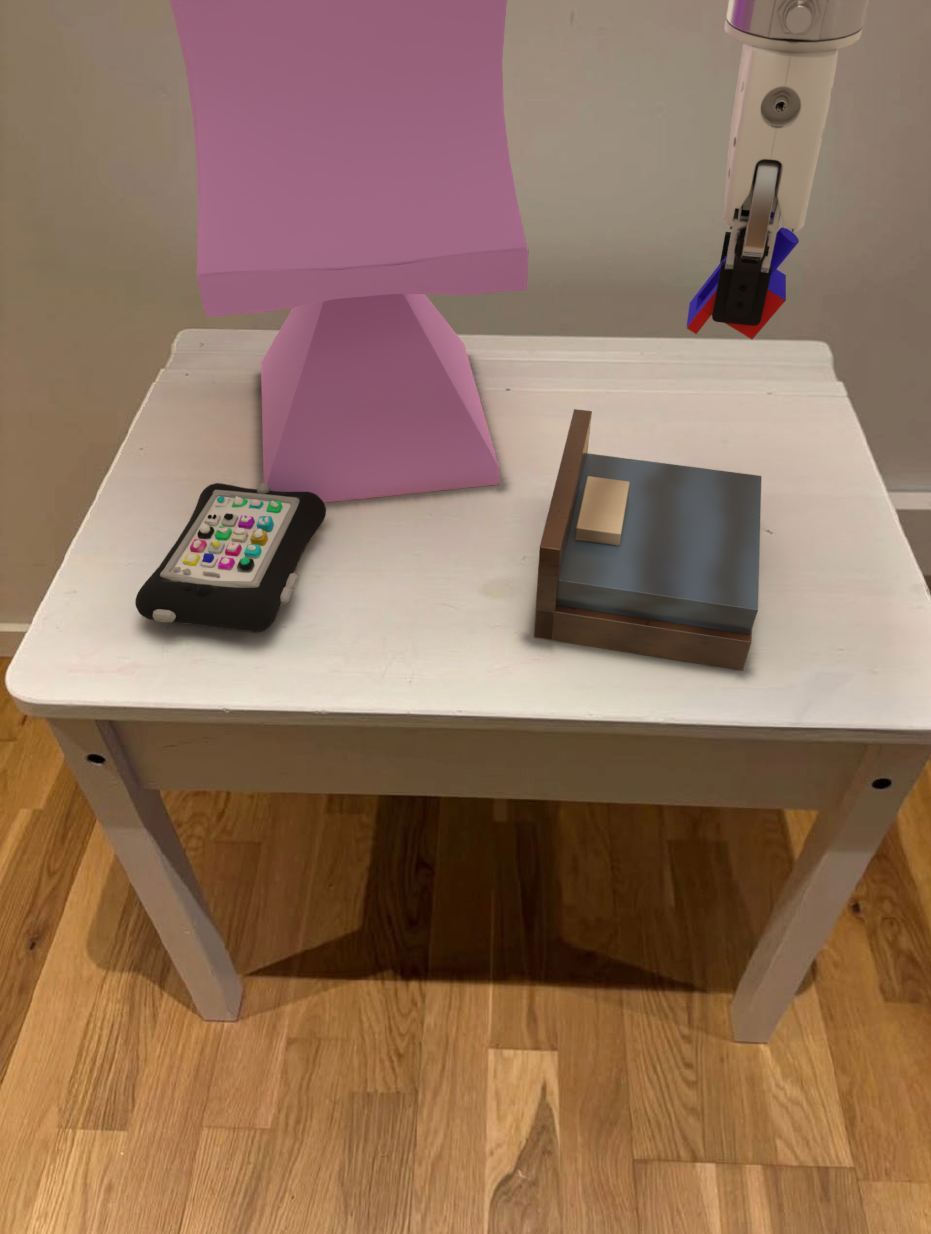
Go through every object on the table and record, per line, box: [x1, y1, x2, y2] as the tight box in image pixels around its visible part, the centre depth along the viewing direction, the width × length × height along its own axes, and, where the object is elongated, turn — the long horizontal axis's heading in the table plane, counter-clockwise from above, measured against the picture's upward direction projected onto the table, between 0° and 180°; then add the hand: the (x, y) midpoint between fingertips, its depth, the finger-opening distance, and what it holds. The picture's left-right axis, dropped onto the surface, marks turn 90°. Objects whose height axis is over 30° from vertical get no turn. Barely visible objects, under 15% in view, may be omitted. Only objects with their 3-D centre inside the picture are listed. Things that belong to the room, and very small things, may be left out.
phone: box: [134, 482, 327, 634], centre depth 75 cm, size 11×15×4 cm
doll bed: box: [533, 408, 762, 671], centre depth 73 cm, size 15×16×9 cm
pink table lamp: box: [168, 0, 529, 504], centre depth 73 cm, size 22×22×45 cm
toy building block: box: [686, 227, 800, 340], centre depth 67 cm, size 4×4×8 cm
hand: (737, 303), depth 68 cm, fingers closed on toy building block, 3 cm apart
